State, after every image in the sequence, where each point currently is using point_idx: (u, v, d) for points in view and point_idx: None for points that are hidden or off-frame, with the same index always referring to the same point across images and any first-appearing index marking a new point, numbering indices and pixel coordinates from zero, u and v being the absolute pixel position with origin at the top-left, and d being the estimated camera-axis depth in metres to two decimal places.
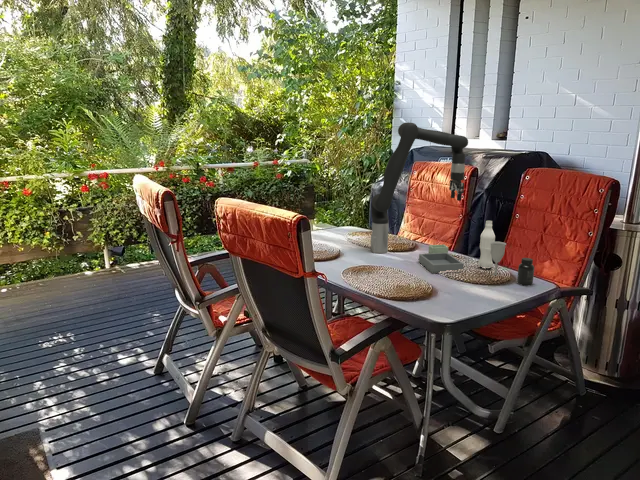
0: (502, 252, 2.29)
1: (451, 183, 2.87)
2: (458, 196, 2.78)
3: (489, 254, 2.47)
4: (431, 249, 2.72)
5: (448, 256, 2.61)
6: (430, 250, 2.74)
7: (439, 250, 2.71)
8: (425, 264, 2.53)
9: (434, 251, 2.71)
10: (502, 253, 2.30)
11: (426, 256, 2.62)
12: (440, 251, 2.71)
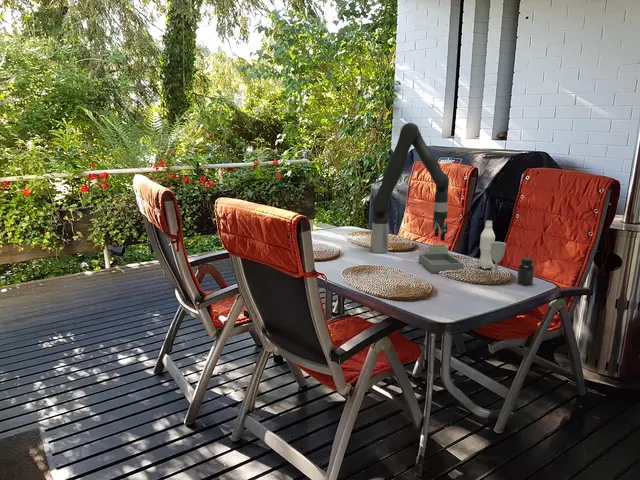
0: (502, 252, 2.29)
1: (434, 221, 2.76)
2: (441, 236, 2.67)
3: (489, 254, 2.47)
4: (431, 249, 2.72)
5: (448, 256, 2.61)
6: (430, 250, 2.74)
7: (439, 250, 2.71)
8: (425, 264, 2.53)
9: (434, 251, 2.71)
10: (502, 253, 2.30)
11: (426, 256, 2.62)
12: (440, 251, 2.71)
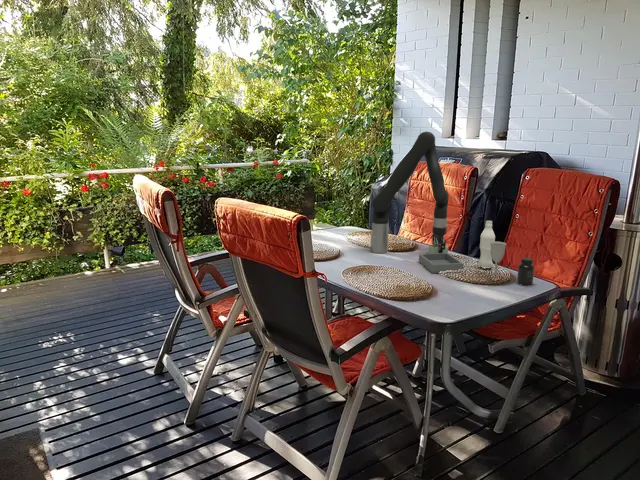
0: (502, 252, 2.29)
1: (433, 237, 2.78)
2: (439, 252, 2.70)
3: (489, 254, 2.47)
4: (431, 249, 2.72)
5: (448, 256, 2.61)
6: (430, 250, 2.74)
7: None
8: (425, 264, 2.53)
9: (434, 251, 2.71)
10: (502, 253, 2.30)
11: (426, 256, 2.62)
12: None
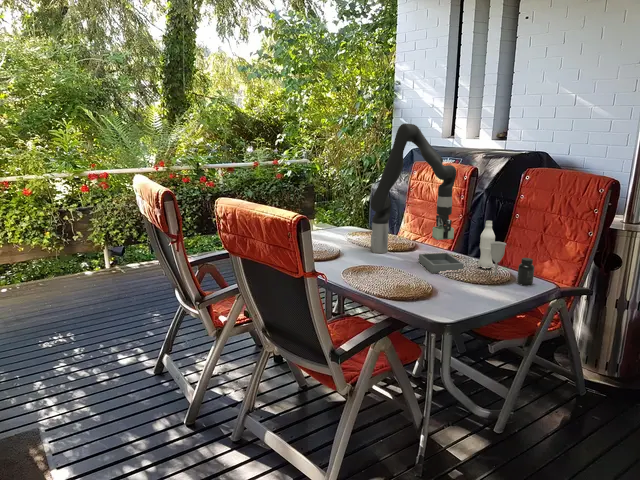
0: (502, 252, 2.29)
1: (438, 218, 2.55)
2: (444, 234, 2.47)
3: (489, 254, 2.47)
4: (435, 231, 2.49)
5: (448, 256, 2.61)
6: (434, 232, 2.51)
7: None
8: (425, 264, 2.53)
9: (439, 233, 2.48)
10: (502, 253, 2.30)
11: (426, 256, 2.62)
12: None
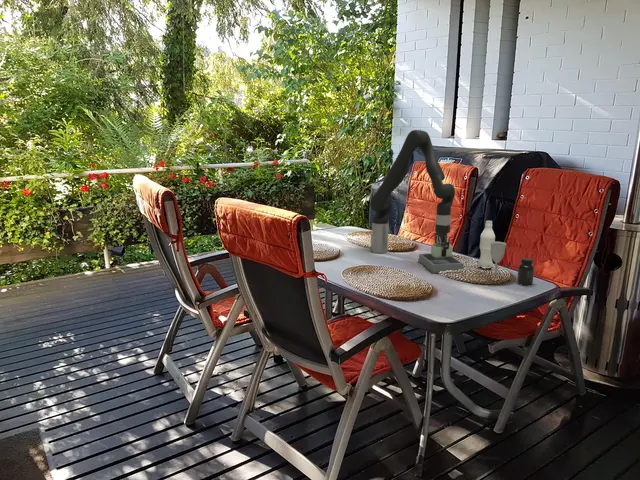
0: (502, 252, 2.29)
1: (436, 236, 2.56)
2: (443, 252, 2.49)
3: (489, 254, 2.47)
4: (434, 249, 2.50)
5: None
6: (433, 250, 2.52)
7: None
8: (425, 264, 2.53)
9: (437, 251, 2.49)
10: (502, 253, 2.30)
11: (426, 256, 2.62)
12: None
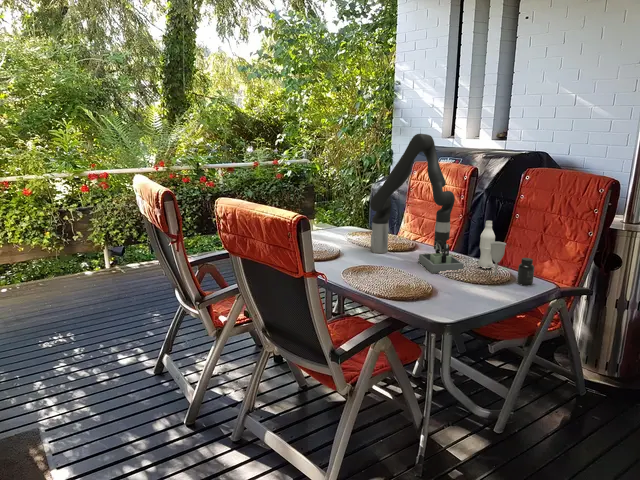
0: (502, 252, 2.29)
1: (436, 242, 2.57)
2: (443, 258, 2.49)
3: (489, 254, 2.47)
4: (433, 258, 2.52)
5: None
6: (432, 259, 2.53)
7: (441, 259, 2.51)
8: (425, 264, 2.53)
9: (436, 260, 2.50)
10: (502, 253, 2.30)
11: (426, 256, 2.62)
12: None
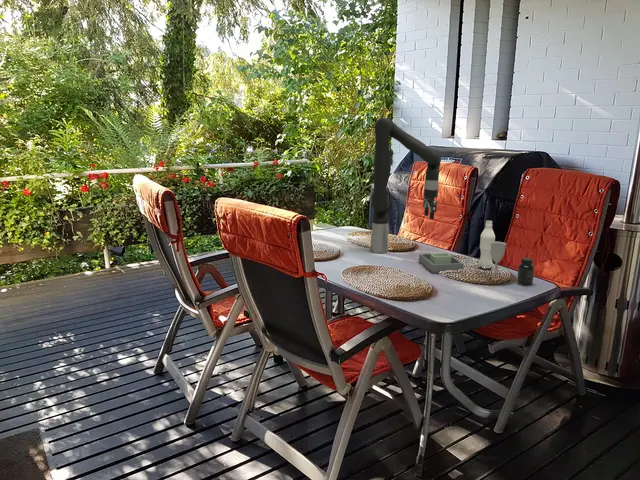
0: (502, 252, 2.29)
1: (425, 200, 2.72)
2: (431, 214, 2.63)
3: (489, 254, 2.47)
4: (433, 258, 2.52)
5: None
6: (432, 259, 2.53)
7: (441, 259, 2.51)
8: (425, 264, 2.53)
9: (436, 260, 2.50)
10: (502, 253, 2.30)
11: (426, 256, 2.62)
12: (443, 260, 2.51)
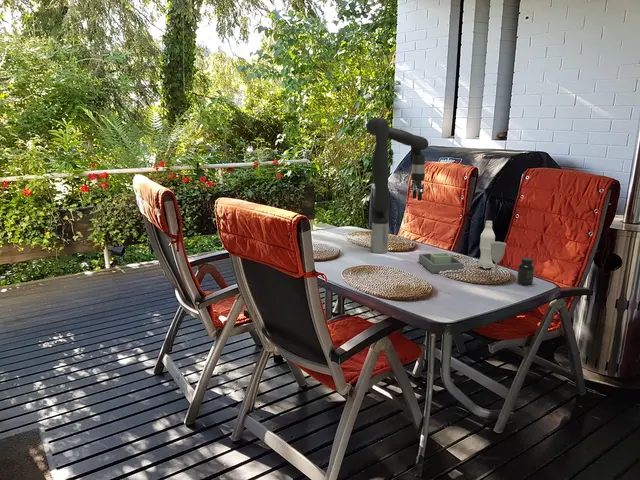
0: (502, 252, 2.29)
1: (413, 184, 2.93)
2: (418, 196, 2.85)
3: (489, 254, 2.47)
4: (433, 258, 2.52)
5: None
6: (432, 259, 2.53)
7: (441, 259, 2.51)
8: (425, 264, 2.53)
9: (436, 260, 2.50)
10: (502, 253, 2.30)
11: (426, 256, 2.62)
12: (443, 260, 2.51)
